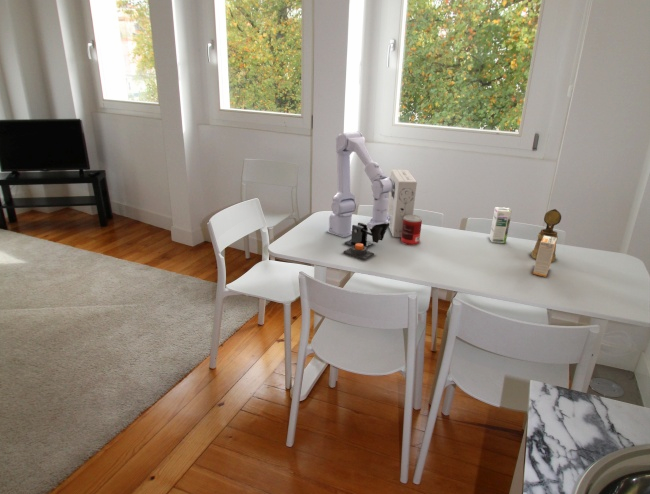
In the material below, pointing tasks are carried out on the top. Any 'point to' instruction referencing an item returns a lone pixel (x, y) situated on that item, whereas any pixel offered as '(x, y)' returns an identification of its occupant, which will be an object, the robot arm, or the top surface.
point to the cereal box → (401, 199)
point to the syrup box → (500, 225)
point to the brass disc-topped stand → (548, 231)
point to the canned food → (411, 229)
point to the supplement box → (544, 255)
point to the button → (359, 246)
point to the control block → (359, 253)
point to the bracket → (359, 236)
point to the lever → (368, 231)
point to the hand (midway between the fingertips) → (377, 240)
